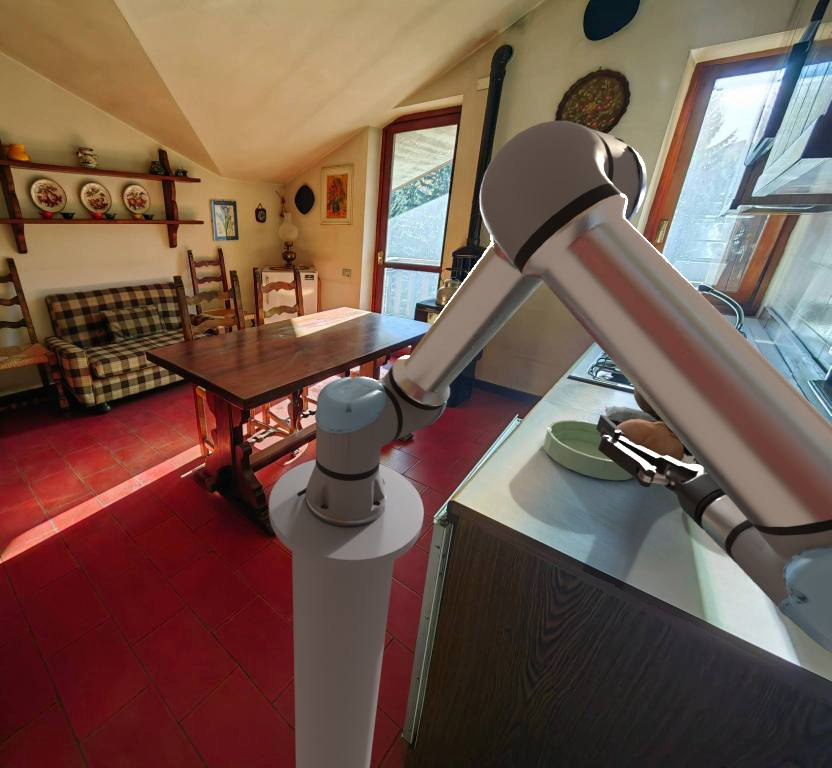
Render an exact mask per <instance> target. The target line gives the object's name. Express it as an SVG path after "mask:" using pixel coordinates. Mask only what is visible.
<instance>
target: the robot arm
mask: <svg viewBox="0 0 832 768" xmlns="http://www.w3.org/2000/svg"><path fill="white" fill-rule="evenodd" d="M493 156H494V157H493V158H492V159H491V161H490V162H489V164H488V166H487V168H486V170H485V172H484V175H483V179H482V182H481V184H480V188H479V189H480V191H479V211H480V214H481V217H482V220H483V221H482V222H483V223H484V226H485V228H486V230H487V232H488V233H489V235H490V241H491V242H490V244H489V246H488V247H487V249H486V250H485V251H484V252H483V254H482V256H481V257H480V258H479V259H478V261H477V262H476V264H475V265H474V267H472V269H471V271H470V272H469V273H468V275H467V276H466V278H465V279H464V280H463V282H462V283H461V285H460V286H459V287H458V289H457V290H456V291H455V292H454V294H453V295H452V297H451V298H450V300H449V301H448V303H447V304H446V305H445V306H444V308H443V309H442V311H441V312H440V313H439V315H438V316H437V318H436V319H435V320H434V322H433V323H432V324H431V325H430V327H429V329H428V330H427V331H426V333H425V334H424V335H423V337H422V338H421V339H420V340H419V342H418V343H417V345H416V346H415V347H414V349H413V350H412V352H411V353H410V355H404V356H400V357H399V358H397V359H396V360H395V361H394V362H393V363H392V365H391V367H389V369H388V371H387V372H386V374H385V375H384V376H383V377H382V378H381V379H378V380H376V379H374V378H370V377H366V376H354V377H351V376H346V377H342V378H338V379H335V380H333V381H330V382H329V383H327V384H325V386H324V387H322V388H321V390H320V391H319V392H318V395H317V398H316V409H315V413H314V420H315V459H316V464H315V467H314V469H313V472H312V474H311V477H310V479H309V482H308V484H307V488H305V489H304V490H302V491H300V492H299V493H297V495H298V496H301V495H303V494H305V493H306V505H307V507H308V509H309V511H310V512H311V513H312V514H313V515H314V516H315V517H316V518H317V519H319V520H321V521H322V522H324V523H327V524H329V525H333V526H337V527H343V528H354V527H361V526H365V525H368V524H370V523H372V522H374V521H375V520H377V519H378V518H379V517H380V516H381V515H382V514H383V512H384V510H385V506H386V490H385V487H386V486H385V487H384V485H385V483H384V480H383V478H382V476H381V473H380V469H379V464H380V460H381V450H382V448H383V447H385V446H386V445H389V444H390V443H393V442H395V441H397V440H399V439H401V438H403V437H406V436H408V435H410V434H413V433H415V432H418V431H420V430H423V429H425V428H428V427H429V426H431V425H432V424H434V423H435V422H436V421H438V420H439V419H440V417H441V416H442V415H443V413H444V412H445V410H446V406H447V403H448V402H447V401H448V399H449V398H450V396H451V388H450V385H451V384H452V383H453V382H454V381H455V379H456V378H457V377H459V375H460V374H461V373H462V372H463V371H464V370H465V368H467V366H468V365H469V364H470V363H471V362H472V361H473V360H474V359H475V358H476V356H477V355H478V354H479V353H480V352H481V351H482V350H483V349H484V347H485V346H486V345H487V344H488V343H489V342H490V341H491V340H492V339H493V337H494V336H495V335H497V333H498V332H499V331H500V330H501V329H502V328H503V327H504V326H505V324H506V323H507V322H508V321H509V320H510V319H511V318H512V317H513V315H514V314H515V313H516V312H517V311H518V310H519V309H520V308H521V306H523V304H524V303H526V301H527V300H528V299H529V298H530V297H531V296H532V295H533V293H534V292H536V290H538V288H539V287H540V286H541V285H542V284H543V283H544V284H545V285H546V286H547V287H548V288H549V290H550V291H551V292H552V293H553V294H554V295H555V296H556V297H557V299H558V301H560V302H561V303H562V305H563V306H564V307H565V308H566V309H567V310H568V312H569V313H570V314H571V315H572V316H573V317H574V319H575V320H576V321H577V322H578V323H579V324H580V326H581V327H582V328H583V329H584V330H585V332H586V333H587V334H588V335H589V336H590V337H591V339H592V340H593V341H594V342H595V343H596V344H597V345H598V346H599V348H600V349H601V350H602V351H603V353H604V354H605V355H606V356H607V357H608V358H609V360H610V361H611V362H612V363H613V364H614V365H615V366H616V368H617V369H618V370H619V371H620V372H621V374H622V375H623V376H624V377H625V378H626V380H627V381H628V382H629V383H630V384H631V385H632V386H633V387H634V388H636V390H637V391H638V392H639V393H640V394H641V395H642V397H643V398H644V399H645V400H646V401H647V402H648V404H649V405H650V406H651V407H652V408H653V409H654V411H655V412H656V413H657V414H658V415H659V416H660V418H661V419H662V420H663V421H662V422H665V423H666V425H667V426H668V427H669V428H670V429H671V430H672V432H673V433H674V434H675V435H676V436H677V437H678V439H679V440H680V441H681V442H682V444H683V448H684V456H686V457H693V460H692V462H695V463H691V464H690V463H684V462H683V461H682V462H679V461H677V460H675V459H673V458H671V457H669V456H660V455H658V454H656V453H654V452H652V451H650V450H648V449H646V448H644V447H642V446H640V445H638V444H636V443H634V442H632V441H630V440H628V439H626V438H624V436H625V434H624V433H623V432H622V431H621V430H620V429H619V428H618V427H617V426H616V425H615V424H614V423H613V422H612V421H611V420H610V419H608V418H607V417H606V414H605V415H604V414H600V415H599V418H598V422H597V423H596V424H597V427H596V429H597V430H598V432H599V433H600V436H601V438H602V439H601V442H600V445H599V448H598V450H599V451H600V452H602V453H603V454H604V455H606V456H607V457H608V458H610V459H611V460H612V461H614V462H615V463H616V464H618V465H619V466H620V467H622V468H623V469H624V470H625V471H627V472H628V473H629V474H631V475H632V476H633V478H634V479H635V480H636V482H637V483H638V485H639V486H641V487H643V488H650V487H651V486H652V484H657V485H662V486H663V487H665V488H666V489H667V490H669V491H670V492H672V493H673V494H675V495H676V497H677V500H678V503H679V506H680V507H681V509H682V510H683V512H684V513H685V514H686V515H687V516H688V517H689V518H690V519H691V520H692V521H693V522H694V523H695V525H697V526H698V527H699V528H700V529H701V530H703V531H704V532H705V533H706V534H707V535H708V537H709V538H711V540H713V542H714V543H715V544H716V545H717V546H718V547H720V548H721V550H722V551H723V552H725V554H726V555H728V556H729V558H730V559H731V560H732V561H733V562H734V563H735V564H736V565H737V567H739V568H740V569H741V571H743V572H744V573H745V574H746V575H747V577H749V579H750V580H751V581H752V582H753V583H754V584H755V585H756V586H757V587H758V588H759V589H760V591H762V592H763V593H764V595H765V596H766V597H767V598H768V599H770V601H771V602H772V603H773V604H774V605H775V606H776V607H777V608H778V610H779V611H780V613H781V614H782V615H784V616H785V617H787V618H788V619H789V620H790V621H791V622H792V623H793V624H794V625H796V626H797V627H798V628H799V629H800V630H801V631H802V632H803V633H804V634H805V635H806V636H808V637H809V638H810V639H811V640H812V641H814V642H815V643H816V644H817V645H819V646H820V647H821V648H822V649H824V650H826V651H827V652H829V653H831V654H832V423H831V422H830V421H829V420H828V419H827V418H826V417H825V415H823V414H822V413H821V412H820V410H818V409H817V408H816V407H815V405H813V404H812V403H811V402H810V401H809V400H808V399H807V398H806V397H805V396H804V395H803V394H802V393H801V392H800V391H799V390H798V389H797V388H796V387H795V386H794V385H793V384H792V382H790V381H789V380H788V379H787V378H786V377H785V376H784V375H783V374H782V373H781V372H780V371H779V370H778V369H777V368H776V367H775V366H774V364H772V363H771V362H770V361H769V360H768V359H767V358H766V357H765V356H764V355H763V354H762V353H761V352H760V351H759V350H758V349H757V348H756V347H755V346H754V345H753V344H752V343H751V342H750V341H749V340H748V339H747V338H746V337H745V336H744V335H743V334H742V333H741V332H740V331H739V330H738V329H737V328H736V327H735V326H734V325H733V324H732V323H731V322H730V321H729V320H728V319H727V318H726V317H725V316H724V315H723V314H722V313H721V312H720V311H719V310H718V309H717V308H716V307H715V306H714V305H713V304H712V303H711V302H710V301H709V300H708V299H707V298H706V297H705V296H704V295H702V293H701V292H700V291H699V290H698V289H697V288H695V286H693V284H692V283H691V282H690V281H689V280H688V279H686V277H684V276H683V274H682V273H681V272H680V271H679V270H678V269H677V268H676V267H675V266H674V265H672V263H670V262H669V260H668V259H667V258H666V257H665V256H664V255H663V254H662V253H661V252H660V251H659V250H658V249H656V248H655V247H654V246H653V245H652V244H651V242H649V241H648V240H647V238H645V237H644V236H643V235H642V234H641V232H640V231H638V229H636V228H635V227H634V226H633V224H632V223H630V222H631V220H632V219H634V217H635V215H636V213H637V212H638V211H639V209H640V207H641V205H642V203H643V201H644V199H645V196H646V191H647V185H648V184H647V183H648V176H647V175H648V174H647V169H646V165H645V163H644V161H643V159H642V157H641V156H640V155H639V153H638V152H637V151H636V150H635V149H634V148H633V147H632V146H631V145H629V144H628V143H626V142H625V141H624V139H623V138H619V137H616V136H614V135H612V134H609V133H604V132H602V131H599V130H595V129H593V128H590V127H587V126H585V125H582V124H580V123H578V122H577V123H576V122H572V121H569V120H551V121H544V122H541V123H538V124H535V125H532V126H530V127H528V128H525V129H524V130H522V131H520V132H518V133H516V134H515V135H514V136H513V137H511V139H509V140H508V141H507V142H506V143H505V144H503V146H501V148H500V149H498V151H497V152H496V154H495V155H493ZM668 464H669V467H668V469H667V471H666V474H665V475H664V472H665V469H666V467H667V465H668Z"/></svg>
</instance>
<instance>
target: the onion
mask: <svg viewBox="0 0 832 768" xmlns="http://www.w3.org/2000/svg"><path fill="white" fill-rule="evenodd" d="M617 427H618V428H619V429H620V430H621V431H622V432H623V433H624V434H625V436H624V438H626V439H628V440H630V441H632V442H634V443H636V444H638V445H640V446H642V447H644V448H646V449H648V450H650V451H652V452H654V453H656V454H658V455H660V456H669V457H671V458H673V459H675V460H677V461H679V462H682V463H683V460H684V457H685V454H684V448H683V444H682V442H681V441H680V440H679V439H678V437H677V436H676V435H675V434H674V433H673V432H672V430H671V429H670V428H669V427H668V426H667V425H666V423H665V422H664V421H661V420H657V421H651V420H643V419H631V420H627V421H624V422H622V423H621V424H619V425H618V426H617ZM668 467H669V464H668V465H667V467H666V469H665V472H664V475H665V474H666V471H667V469H668ZM620 468H622V467H620Z"/></svg>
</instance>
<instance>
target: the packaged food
mask: <svg viewBox="0 0 832 768" xmlns="http://www.w3.org/2000/svg"><path fill="white" fill-rule="evenodd" d="M604 408H605V409H604V412H605V416H606V417H607V418H608V419H610V420H611V421H612V422H613V423H614V424H615V425H616V426H618V425H619V424H621V423H622V422H624V421H627V420H631V419H643V420H651V421H658V419H656V418H653V417H652V416H651V415H650V414H648V413H646V412H644V411H643V410H639V409H634V408H630V407H627V406H619V405H618V406H617V405H616V406H615V405H613V406H606V405H604Z"/></svg>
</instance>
